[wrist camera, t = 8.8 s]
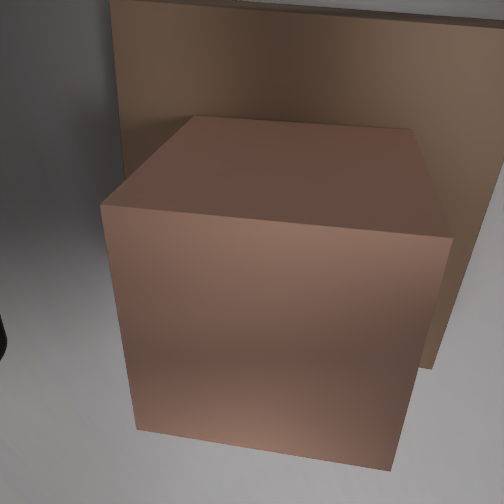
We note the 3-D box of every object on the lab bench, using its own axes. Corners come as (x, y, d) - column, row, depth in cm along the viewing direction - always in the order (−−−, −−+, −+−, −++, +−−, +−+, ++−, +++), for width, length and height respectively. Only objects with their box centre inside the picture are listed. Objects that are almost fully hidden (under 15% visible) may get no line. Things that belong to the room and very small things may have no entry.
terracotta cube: (412, 129, 11) (453, 237, 6) (377, 309, 13) (390, 471, 9) (194, 115, 11) (99, 203, 7) (202, 288, 14) (136, 429, 10)
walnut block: (504, 19, 12) (548, 32, 9) (418, 307, 16) (431, 369, 14) (156, -7, 13) (108, -2, 10) (168, 271, 17) (137, 322, 15)
